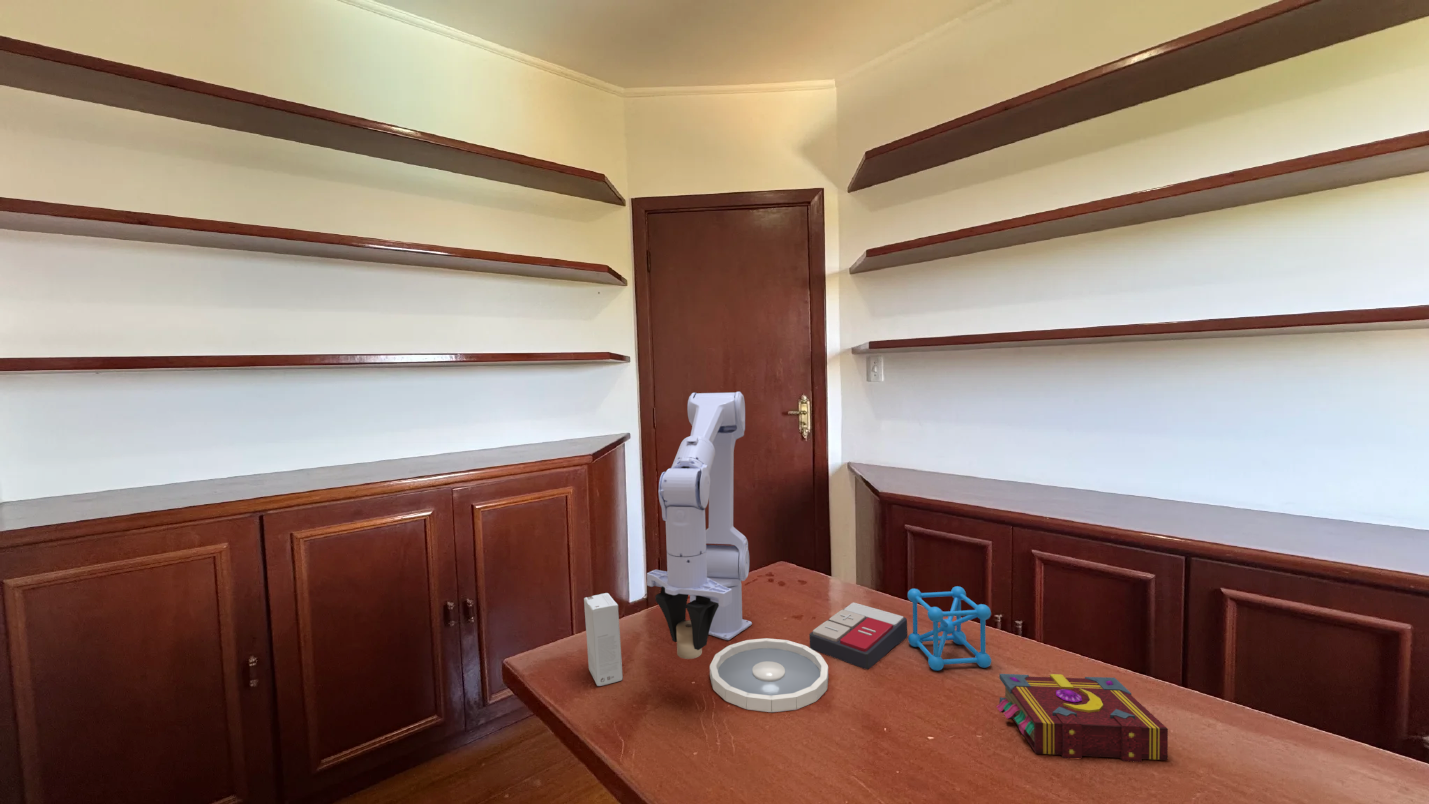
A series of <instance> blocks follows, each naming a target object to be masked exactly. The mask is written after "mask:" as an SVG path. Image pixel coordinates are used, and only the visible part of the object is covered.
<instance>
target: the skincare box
mask: <svg viewBox="0 0 1429 804" xmlns="http://www.w3.org/2000/svg"><path fill="white" fill-rule="evenodd" d="M583 603H584V604H583V605H584V616H585V617H584V619H585V632H586V644H587V645H586V647H587V663H588V670H589V672H590V675H591V677H592V678H593V680H594V683H595V684H596V687H601V686H607V685H610V684H614V683H617V682H618V683H619V682H620V681H623V678H624V677H623V664H622V662H623V661H622V648H621V647H622V646H621V644H622V643H621V632H620V617H619V616H620V615H619V604H618V603H617V602H616V601H615V600H614V598H613V596H611V595H610V593H608V592H605V593H600V594H595V595H591V596H588V597H587V596H586V597H584V598H583Z"/></svg>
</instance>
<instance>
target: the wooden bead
mask: <svg viewBox="0 0 1429 804" xmlns="http://www.w3.org/2000/svg"><path fill="white" fill-rule="evenodd" d="M676 631H677V642H676V655H677V656H678V657H679V658H680V659H684V660H685V659H686V660H693V659H696V658H699V657H700V656H701V655H702V653H703V648H701V649H699V650H696V649H694V645H693V635H692V625H691V620H690V619H689V620H686V621H682V622H680V623H678V624H677V626H676Z"/></svg>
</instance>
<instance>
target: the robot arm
mask: <svg viewBox="0 0 1429 804" xmlns="http://www.w3.org/2000/svg"><path fill="white" fill-rule="evenodd" d="M687 417H688V421H689V423H690V425H691V426H692V427H691V431H690V436H687V437H685V438H684V439H683V440H682V441H681V443H680V445H679V447H678V450H677V453H676V455H675V458H674V460H673V463H672V465H671V467H670V468H668V469H667V470H666V471H663V472H661V475H660V477H659V480H658V481H659V482H658V500H659V504H660V507H661V517H662V521H665V535H666V537H665V538H666V539H665V540H666V541H665V542H666V567H667V571H666V570H660V569H653V570H651V571H649V572H647V573H646V585H647V586H648V587H651V588H652V587H660V588H661V589H660V592H659V593H657V594H656V595H655V598H654V600H655V602H656V603H657V605H658V606H659V608H660V609H661V612H662V613H663V616H664V618H665V621H666V623H667V627H668V630H669V633H670V637H671V640H672V642H674V643H677V631H676V626H677V624H678V623H680V622H682V621H687V620H686V619H687V618H686V617H687V616H686V615H687V613H688V617H689V620H691V625H692V635H693V645H694V649H696V650H699V649H701V648H702V649H703V648H704V647H706V646H707V643H708V639H709V635H710V636H713V637H716V638H719V639H722V640H725V641H730V640H731V639H732V638H734V637H735V636H737V635H738V634H740V633H742V632H743V631H744V630H746V629H748V628H749V627H750V626H751V625H753V623H752V621H750V620H747V619H743V599H742V598H743V597H742V596H743V595H742V582H744V581H746V580H747V578H748V576H749V572H750V551H749V541H748V539H747V537H746V536H745V535H744V534H743V533H742V532H740V531H739V530H738V529H737V528H736V527H734V471H735V470H734V461H735V459H734V455H735V454H734V453H735V452H734V450H735V446H736V441H737V440H738V439H740V438H742V437H744V436H745V431H746V403H745V397H744V394H743V393H742V392H741V391H736V392H701V393H699V392H698V393H697V392H692V393H691V394H690V395H689V397H688V400H687ZM707 507H708V528H706V508H707ZM688 599H689V602H688Z"/></svg>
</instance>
